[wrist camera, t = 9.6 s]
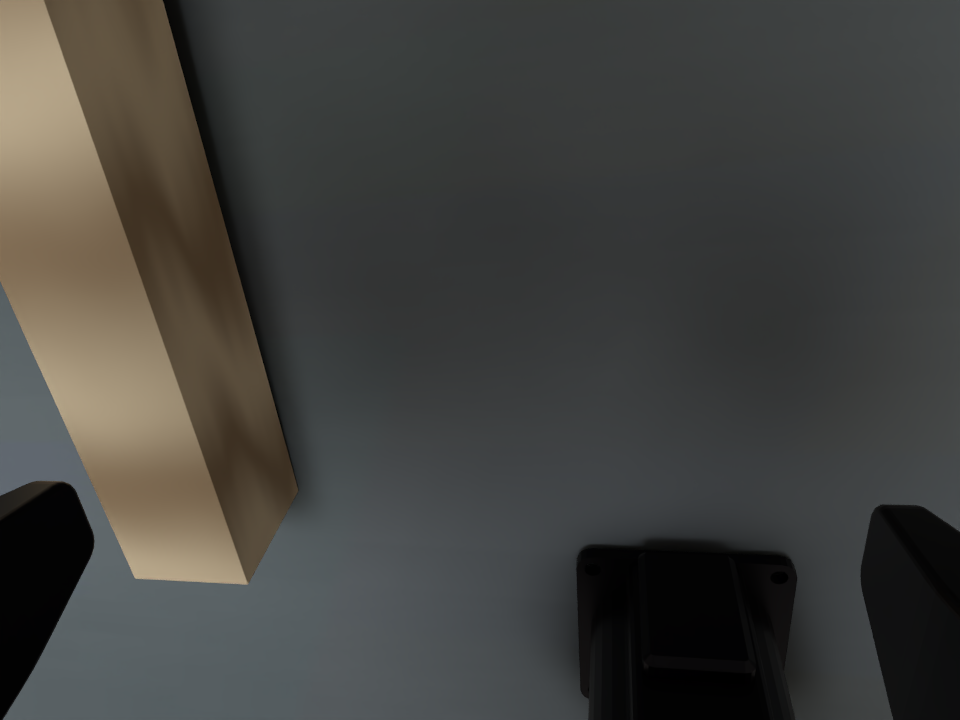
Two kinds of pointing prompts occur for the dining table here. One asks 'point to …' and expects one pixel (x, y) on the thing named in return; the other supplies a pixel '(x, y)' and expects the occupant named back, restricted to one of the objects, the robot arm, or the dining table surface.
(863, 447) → the dining table surface
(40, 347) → the rail
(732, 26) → the dining table surface
